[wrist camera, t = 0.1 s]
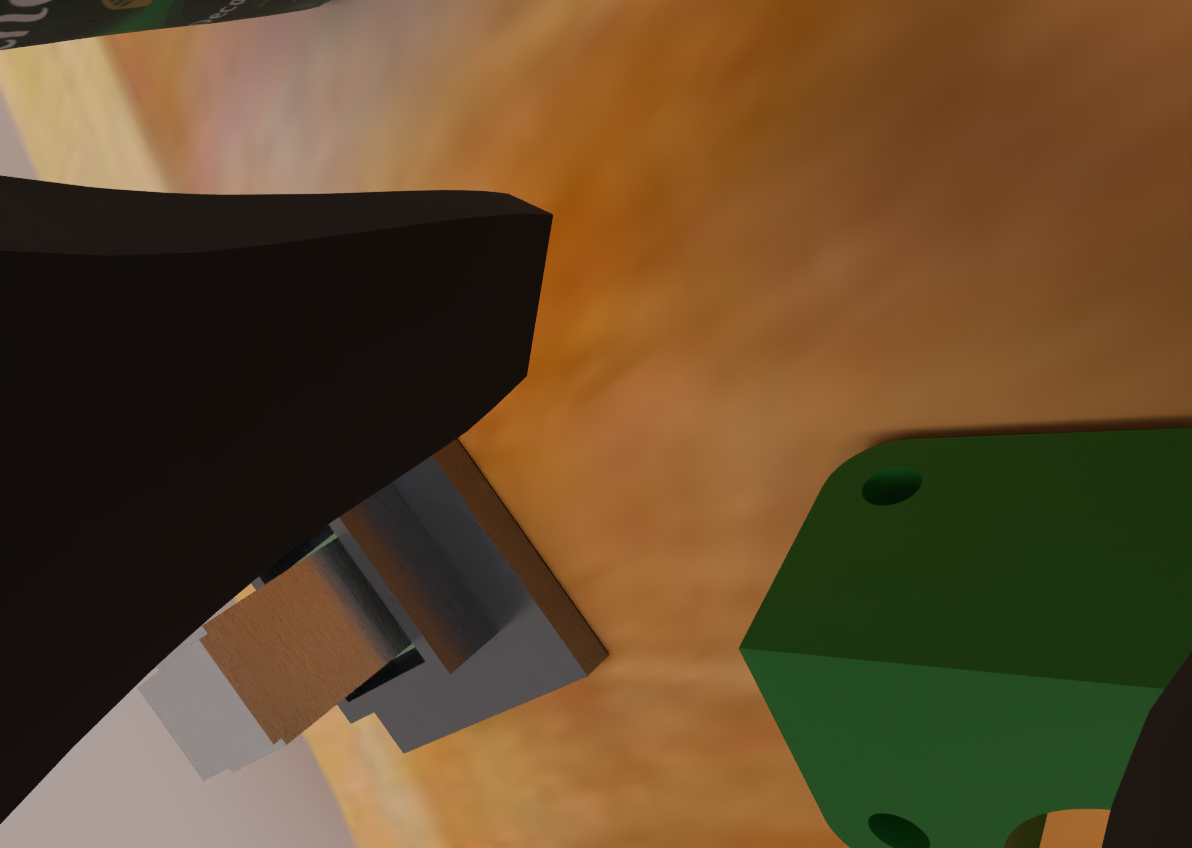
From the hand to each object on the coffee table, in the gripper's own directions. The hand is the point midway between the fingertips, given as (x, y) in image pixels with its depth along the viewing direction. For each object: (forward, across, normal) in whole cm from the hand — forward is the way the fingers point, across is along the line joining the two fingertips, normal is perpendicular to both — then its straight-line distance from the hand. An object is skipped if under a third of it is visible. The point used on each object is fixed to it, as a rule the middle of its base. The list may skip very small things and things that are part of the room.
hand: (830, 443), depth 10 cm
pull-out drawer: (+9, +13, +17) cm, 23 cm away
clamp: (+10, -5, +6) cm, 13 cm away
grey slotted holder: (+10, +13, +17) cm, 24 cm away
